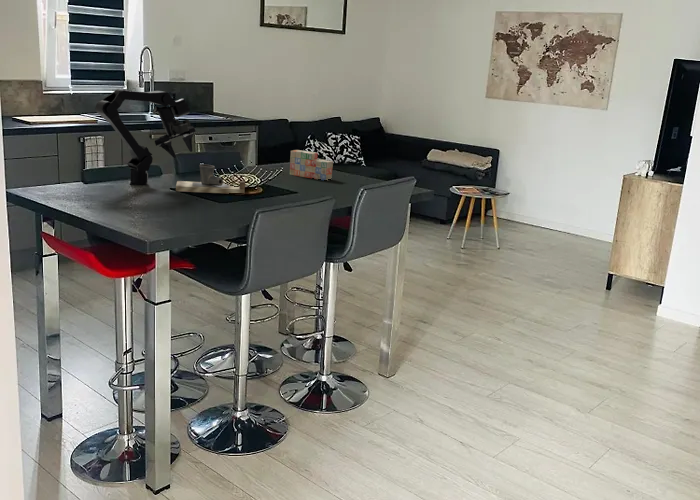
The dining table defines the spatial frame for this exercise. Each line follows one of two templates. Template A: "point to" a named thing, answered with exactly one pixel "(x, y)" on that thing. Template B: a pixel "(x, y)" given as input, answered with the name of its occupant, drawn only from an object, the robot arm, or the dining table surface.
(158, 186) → the dining table surface
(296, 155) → the stack of blocks
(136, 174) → the robot arm
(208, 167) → the pipe
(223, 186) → the roller board
